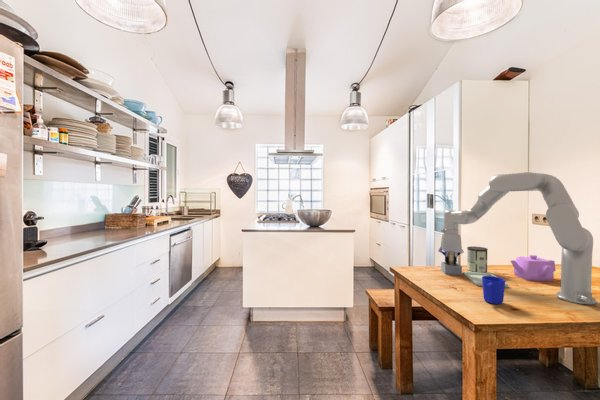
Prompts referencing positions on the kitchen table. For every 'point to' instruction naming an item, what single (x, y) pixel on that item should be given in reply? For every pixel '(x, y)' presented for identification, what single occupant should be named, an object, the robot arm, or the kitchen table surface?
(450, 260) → the dowel
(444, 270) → the grey square bin
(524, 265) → the teakettle
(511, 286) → the kitchen table surface
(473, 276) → the tray
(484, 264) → the coffee can
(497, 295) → the mug
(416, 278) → the kitchen table surface
